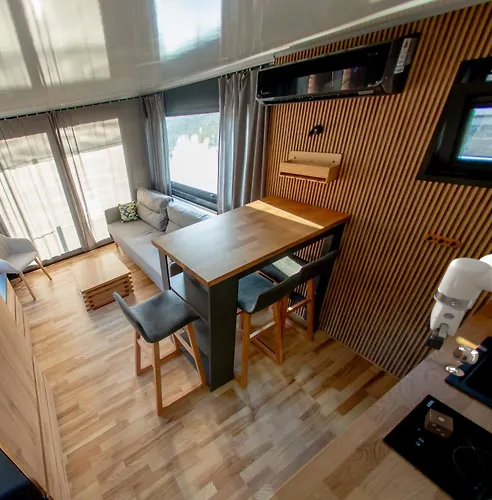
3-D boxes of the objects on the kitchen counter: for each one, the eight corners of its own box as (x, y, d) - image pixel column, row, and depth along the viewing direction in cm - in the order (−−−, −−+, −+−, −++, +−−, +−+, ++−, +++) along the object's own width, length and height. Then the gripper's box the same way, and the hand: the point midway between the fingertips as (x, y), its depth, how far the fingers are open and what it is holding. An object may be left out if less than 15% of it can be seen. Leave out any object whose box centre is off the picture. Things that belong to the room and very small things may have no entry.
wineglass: (444, 371, 100) (456, 351, 95) (444, 362, 104) (456, 341, 98) (466, 380, 96) (481, 359, 91) (466, 369, 100) (480, 349, 94)
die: (446, 426, 85) (452, 418, 83) (446, 439, 82) (453, 431, 80) (425, 416, 89) (430, 408, 86) (424, 428, 86) (430, 420, 83)
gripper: (476, 319, 68) (449, 361, 75) (472, 286, 77) (449, 327, 85) (435, 308, 73) (414, 349, 81) (436, 279, 82) (417, 317, 90)
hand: (432, 337), depth 83 cm, fingers open, 9 cm apart
